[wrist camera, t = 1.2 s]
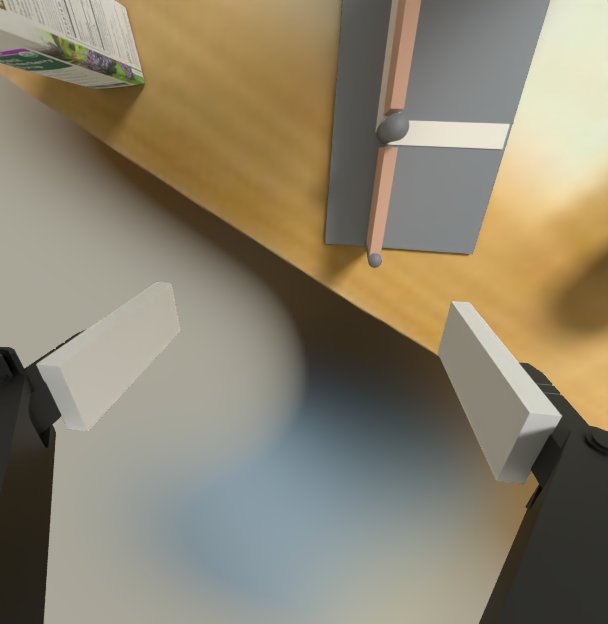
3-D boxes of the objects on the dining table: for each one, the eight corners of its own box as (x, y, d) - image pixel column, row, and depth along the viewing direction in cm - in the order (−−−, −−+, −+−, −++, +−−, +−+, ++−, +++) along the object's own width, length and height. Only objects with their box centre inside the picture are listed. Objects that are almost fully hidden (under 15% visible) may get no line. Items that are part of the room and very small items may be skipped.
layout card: (344, -29, 25) (344, -32, 24) (556, -30, 23) (561, -34, 23) (325, 242, 35) (324, 243, 35) (471, 252, 34) (473, 254, 33)
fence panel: (377, 147, 30) (384, 146, 24) (390, 148, 29) (400, 147, 24) (364, 248, 34) (367, 267, 29) (375, 249, 34) (380, 268, 29)
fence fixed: (398, -37, 24) (416, -103, 18) (422, -37, 24) (448, -103, 18) (375, 142, 30) (382, 140, 23) (394, 143, 29) (406, 141, 23)
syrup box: (94, 91, 31) (-84, 49, 18) (69, 12, 28) (-160, -102, 15) (147, 84, 30) (-1, 35, 17) (126, 2, 27) (-67, -127, 15)
